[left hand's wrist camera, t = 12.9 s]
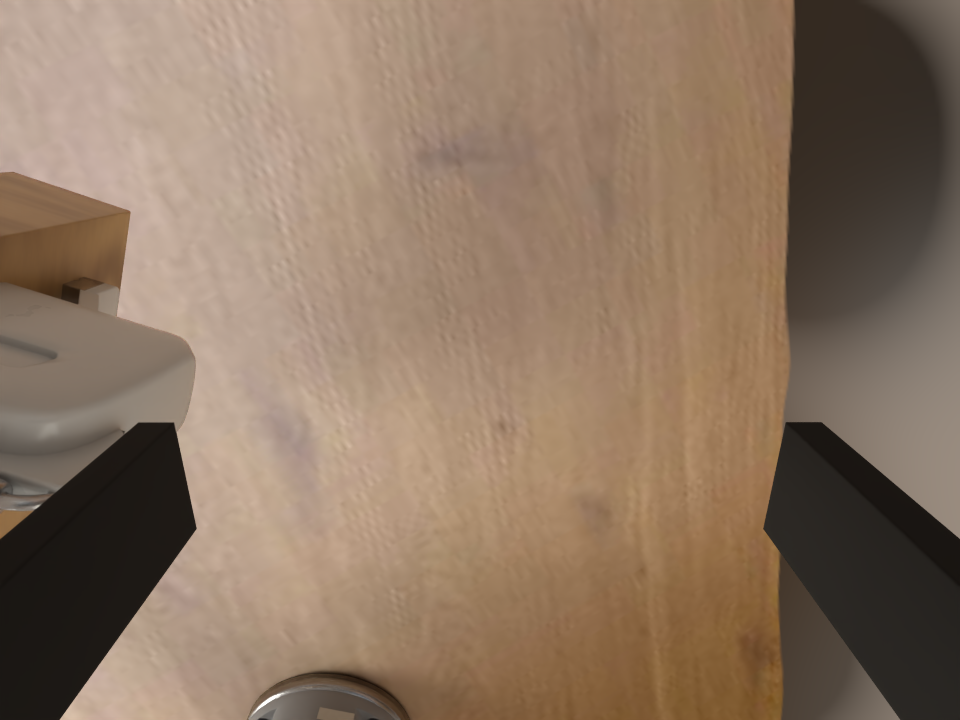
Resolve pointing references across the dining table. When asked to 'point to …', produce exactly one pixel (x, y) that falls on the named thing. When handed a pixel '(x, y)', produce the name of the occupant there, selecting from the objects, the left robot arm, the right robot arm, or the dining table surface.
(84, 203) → the bar
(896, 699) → the left robot arm
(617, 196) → the dining table surface
